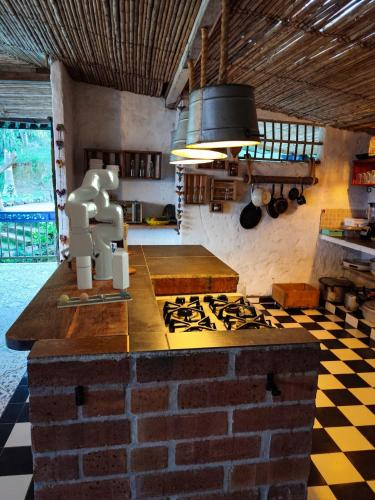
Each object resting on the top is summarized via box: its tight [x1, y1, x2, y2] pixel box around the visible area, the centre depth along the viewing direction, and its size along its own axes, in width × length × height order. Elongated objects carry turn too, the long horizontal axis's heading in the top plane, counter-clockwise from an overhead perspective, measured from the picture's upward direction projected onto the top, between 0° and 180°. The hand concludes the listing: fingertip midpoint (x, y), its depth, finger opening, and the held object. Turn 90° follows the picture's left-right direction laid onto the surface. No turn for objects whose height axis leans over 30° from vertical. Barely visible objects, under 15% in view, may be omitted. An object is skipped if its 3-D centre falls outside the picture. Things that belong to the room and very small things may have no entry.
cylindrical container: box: [75, 256, 93, 290], centre depth 181 cm, size 7×7×25 cm
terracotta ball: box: [78, 292, 89, 301], centre depth 161 cm, size 4×4×4 cm
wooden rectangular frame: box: [102, 292, 132, 303], centre depth 166 cm, size 6×12×1 cm, turn 109°
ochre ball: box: [59, 294, 70, 303], centre depth 158 cm, size 4×4×4 cm
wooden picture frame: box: [56, 294, 103, 307], centre depth 160 cm, size 6×20×1 cm, turn 109°
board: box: [56, 292, 133, 309], centre depth 164 cm, size 12×33×2 cm, turn 109°
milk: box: [112, 247, 130, 290], centre depth 182 cm, size 6×6×22 cm
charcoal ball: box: [119, 288, 129, 297], centre depth 166 cm, size 4×4×4 cm
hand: (82, 268), depth 158 cm, fingers open, 9 cm apart
